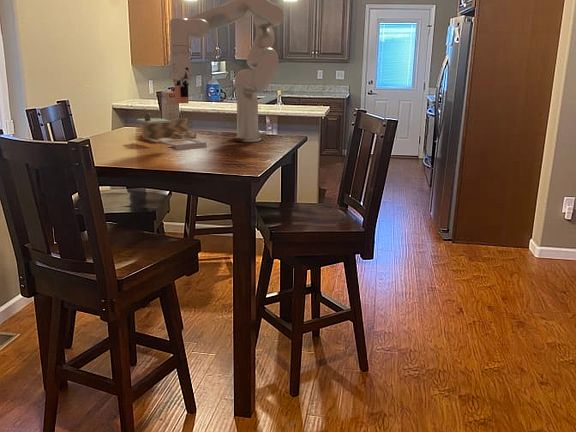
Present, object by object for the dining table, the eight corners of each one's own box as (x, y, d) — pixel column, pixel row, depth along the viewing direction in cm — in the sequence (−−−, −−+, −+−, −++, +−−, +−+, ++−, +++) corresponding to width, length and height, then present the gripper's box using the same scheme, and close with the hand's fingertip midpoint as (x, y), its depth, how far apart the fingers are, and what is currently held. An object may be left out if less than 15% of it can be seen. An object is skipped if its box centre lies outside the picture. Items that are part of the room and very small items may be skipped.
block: (183, 102, 234) (183, 85, 232) (188, 103, 231) (188, 85, 229) (175, 102, 232) (174, 85, 230) (179, 103, 229) (179, 86, 227)
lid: (157, 119, 251) (157, 111, 250) (171, 122, 241) (170, 113, 240) (136, 120, 244) (136, 112, 243) (149, 123, 235) (149, 114, 234)
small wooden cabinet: (186, 137, 262) (186, 118, 259) (200, 141, 252) (200, 121, 250) (142, 141, 249) (141, 121, 246) (156, 145, 239) (155, 124, 236)
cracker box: (180, 137, 262) (179, 92, 256) (167, 138, 260) (165, 92, 254) (174, 133, 275) (173, 90, 269) (162, 134, 272) (160, 90, 267)
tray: (189, 143, 246) (189, 138, 246) (206, 147, 236) (206, 142, 235) (160, 145, 238) (160, 140, 237) (176, 150, 227) (176, 144, 227)
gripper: (162, 50, 230) (164, 95, 235) (182, 50, 217) (183, 98, 222) (178, 50, 235) (180, 95, 239) (198, 50, 222) (200, 97, 227)
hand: (181, 96), depth 231 cm, fingers closed on block, 4 cm apart
